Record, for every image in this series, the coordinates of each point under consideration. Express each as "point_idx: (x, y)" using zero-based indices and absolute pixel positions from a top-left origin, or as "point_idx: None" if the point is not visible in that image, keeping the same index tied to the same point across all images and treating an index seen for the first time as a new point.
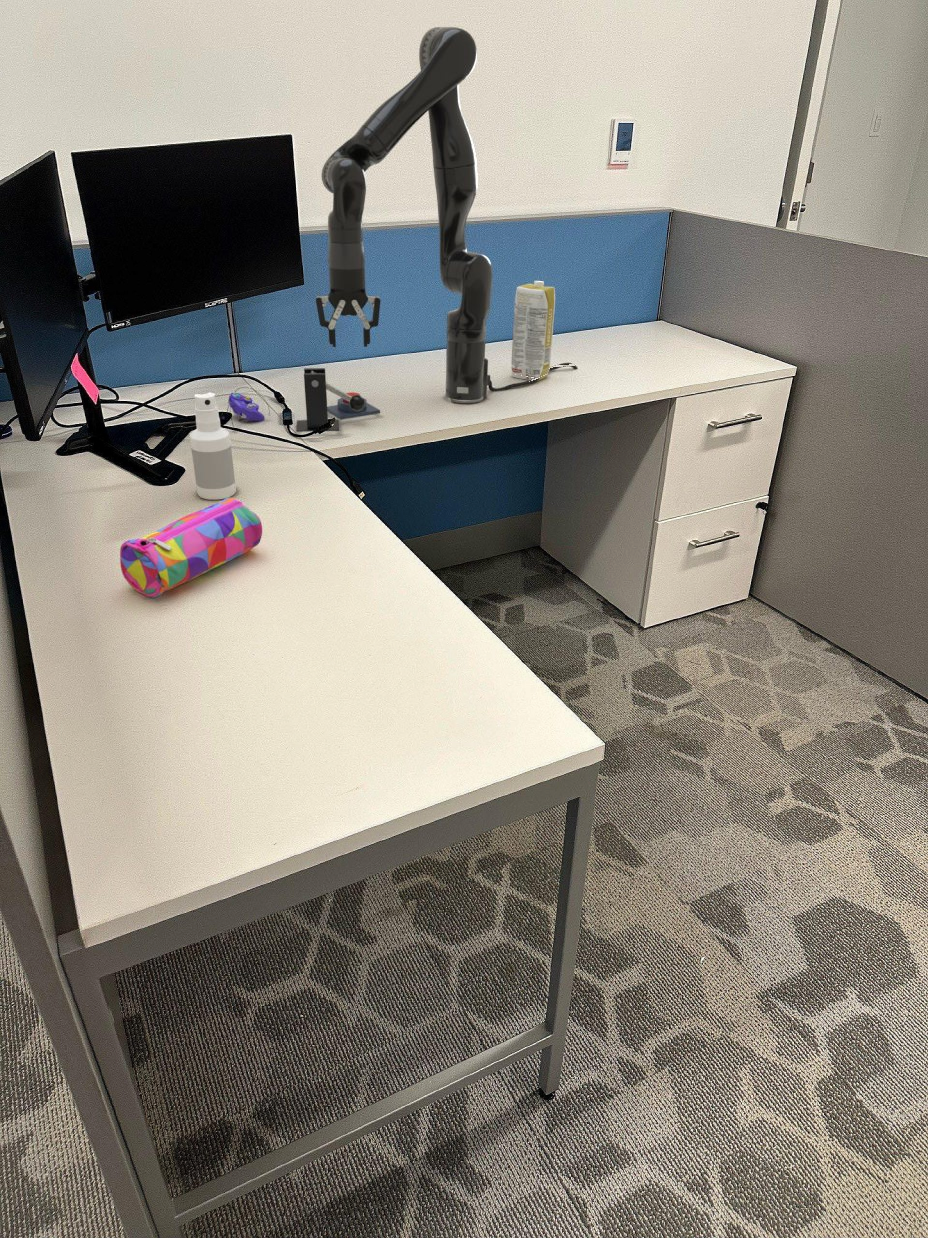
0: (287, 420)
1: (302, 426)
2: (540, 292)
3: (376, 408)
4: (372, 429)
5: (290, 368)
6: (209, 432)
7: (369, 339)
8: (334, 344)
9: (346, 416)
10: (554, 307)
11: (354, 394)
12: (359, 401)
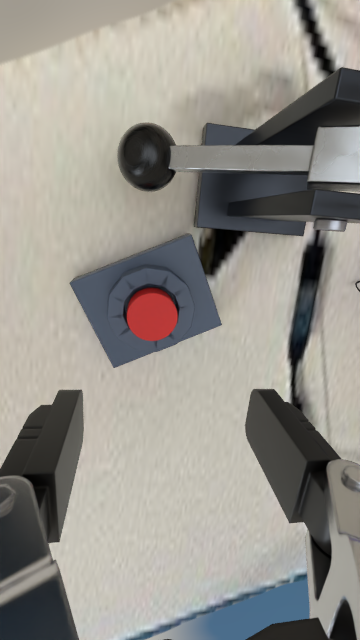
0: (310, 279)
1: (301, 176)
2: None
3: (80, 297)
4: (101, 167)
5: (243, 591)
6: None
7: (29, 425)
8: (266, 393)
9: (172, 241)
10: None
11: (144, 318)
12: (140, 123)
